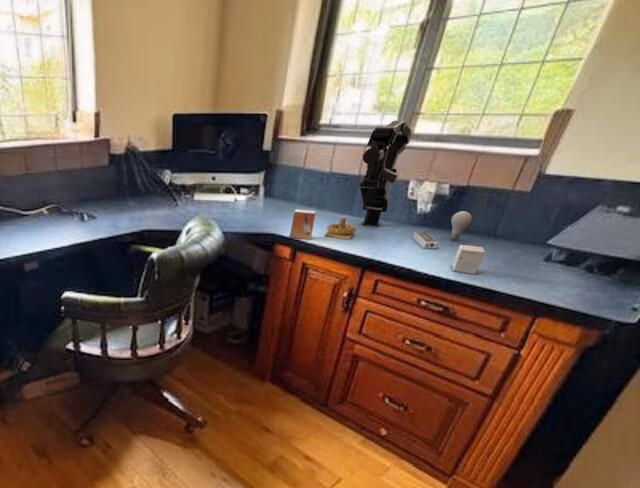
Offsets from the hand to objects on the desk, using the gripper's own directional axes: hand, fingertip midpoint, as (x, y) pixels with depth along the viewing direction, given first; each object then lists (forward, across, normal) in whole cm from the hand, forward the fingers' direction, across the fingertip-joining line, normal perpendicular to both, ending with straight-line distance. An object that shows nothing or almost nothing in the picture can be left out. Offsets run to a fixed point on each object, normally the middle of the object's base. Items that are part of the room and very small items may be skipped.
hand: (366, 202), depth 173 cm
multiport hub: (+12, -6, -24) cm, 27 cm away
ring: (+10, -10, +6) cm, 15 cm away
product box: (+12, -34, -36) cm, 51 cm away
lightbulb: (+12, +4, -33) cm, 35 cm away
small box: (+12, -21, +19) cm, 31 cm away
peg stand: (+12, -11, +6) cm, 17 cm away
